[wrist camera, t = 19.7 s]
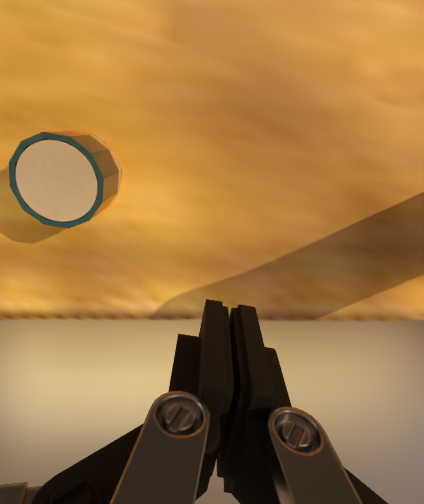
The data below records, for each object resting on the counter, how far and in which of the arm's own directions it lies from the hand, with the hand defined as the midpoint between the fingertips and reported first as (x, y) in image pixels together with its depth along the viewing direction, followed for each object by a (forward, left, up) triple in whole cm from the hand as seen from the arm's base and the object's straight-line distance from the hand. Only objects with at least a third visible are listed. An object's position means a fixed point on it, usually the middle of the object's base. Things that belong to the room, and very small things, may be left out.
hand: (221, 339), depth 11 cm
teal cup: (+14, 0, -19) cm, 24 cm away
